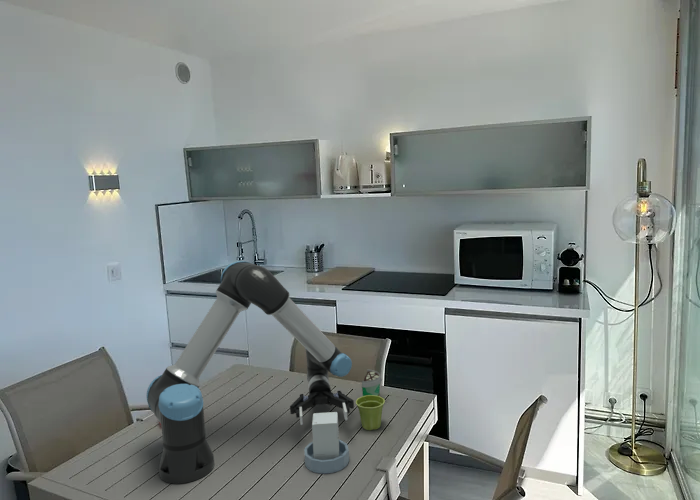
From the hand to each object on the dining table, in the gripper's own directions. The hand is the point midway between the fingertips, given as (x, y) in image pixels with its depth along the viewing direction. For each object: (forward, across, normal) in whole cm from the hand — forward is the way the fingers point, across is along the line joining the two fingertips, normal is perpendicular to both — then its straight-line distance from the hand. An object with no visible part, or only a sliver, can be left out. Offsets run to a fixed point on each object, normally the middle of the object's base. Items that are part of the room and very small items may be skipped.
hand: (323, 418), depth 155 cm
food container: (-28, -20, -10) cm, 36 cm away
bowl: (+8, 0, -9) cm, 12 cm away
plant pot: (-10, -16, -9) cm, 21 cm away
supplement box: (+8, 0, -9) cm, 12 cm away
